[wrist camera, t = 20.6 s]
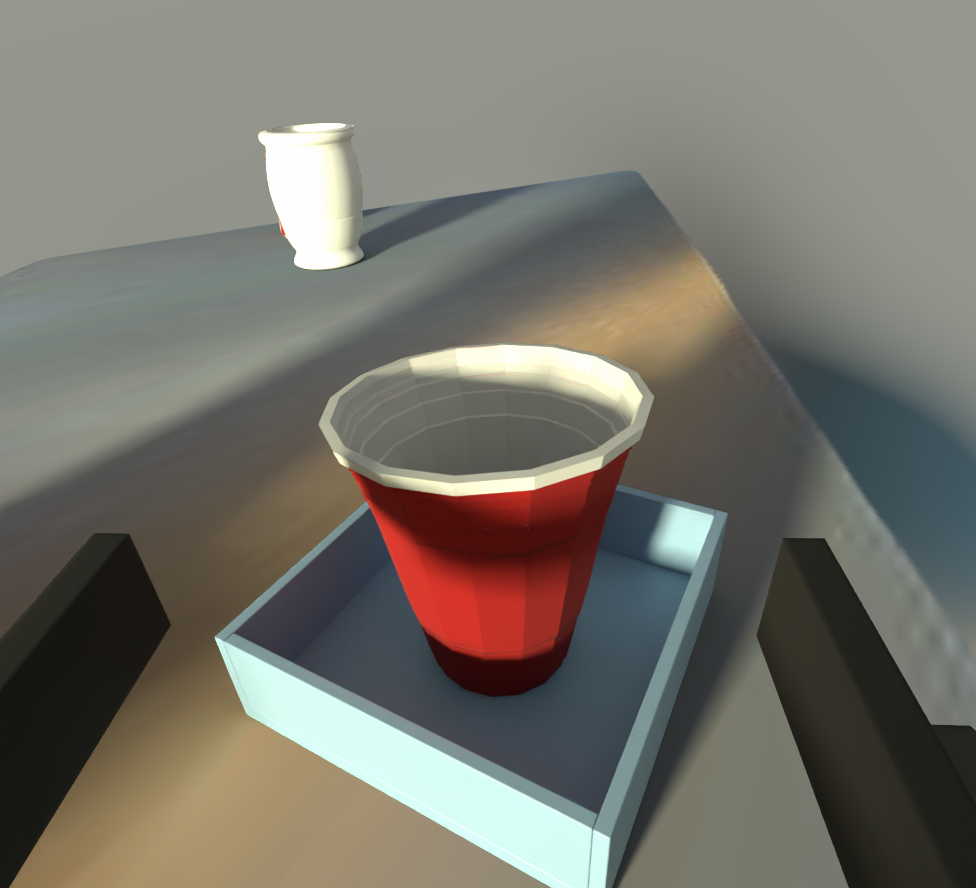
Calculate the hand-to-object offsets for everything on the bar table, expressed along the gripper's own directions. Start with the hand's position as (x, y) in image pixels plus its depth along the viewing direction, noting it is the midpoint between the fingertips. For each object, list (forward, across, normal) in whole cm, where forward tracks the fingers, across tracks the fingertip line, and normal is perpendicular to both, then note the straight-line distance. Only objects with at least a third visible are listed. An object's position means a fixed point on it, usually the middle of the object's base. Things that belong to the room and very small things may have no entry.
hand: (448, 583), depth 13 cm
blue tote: (+9, 0, -13) cm, 16 cm away
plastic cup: (+9, 0, -12) cm, 15 cm away
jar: (+68, -24, -14) cm, 74 cm away
